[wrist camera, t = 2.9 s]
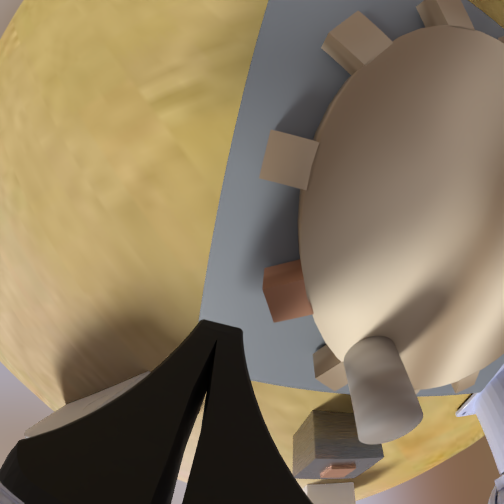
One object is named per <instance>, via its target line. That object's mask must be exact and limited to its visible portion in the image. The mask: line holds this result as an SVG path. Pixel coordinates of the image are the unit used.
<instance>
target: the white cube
mask: <svg viewBox="0 0 504 504" xmlns="http://www.w3.org/2000/svg"><path fill="white" fill-rule="evenodd" d="M302 490H303V491H304V492H305V494H306V495H307V496H308V498H309V499H310V500H311V502H312V503H313V504H355V492H354V482H346V483H333V484H307V485H306V486H305V487H304V488H303V489H302Z"/></svg>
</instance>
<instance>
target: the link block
mask: <svg viewBox="0 0 504 504" xmlns="http://www.w3.org/2000/svg"><path fill="white" fill-rule="evenodd" d="M383 457H384V455H383V450H382V445H381V444H365V443H362V442H360V441H359V438H358V433H357V427H356V421H355V416H354V413H340V412H327V411H316V410H312V412H311V413H310V414H309V416H308V417H307V419H306V420H305V421H304V423H303V424H302V425H301V427H300V428H299V429H298V430H297V432H296V433H295V434H294V436H293V476H294V478H299V479H345V478H355V477H357V476H358V475H360V474H361V473H363V472H364V471H366V470H367V469H369V468H370V467H371V466H373V465H374V464H375V463H377V462H378V461H379V460H381V459H382V458H383Z"/></svg>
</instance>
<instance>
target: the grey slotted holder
mask: <svg viewBox="0 0 504 504" xmlns="http://www.w3.org/2000/svg"><path fill="white" fill-rule="evenodd" d="M149 373H151V372H149V371H147V372H145V373H142V374H140V375H138V376H135V377H133V378H131V379H129V380H126V381H124V382H122V383H119V384H117V385H114V386H112V387H110V388H107V389H105V390H102V391H100V392H97V393H95V394H92V395H90V396H87V397H85V398H82V399H79V400H77V401H74V402H71V403H69V404H66V405H64V406H63V407H61V408H60V409H58V410H57V411H55V412H54V413H52V414H51V415H49V416H48V417H46V418H44V419H43V420H41V421H40V422H38V423H37V424H35V425H34V426H32V427H31V428H29V429H28V430H26V431H25V433H24V435H25V438H29V437H32V436H36V435H39V434H42V433H45V432H48V431H51V430H54V429H57V428H59V427H62V426H64V425H66V424H68V423H71V422H73V421H75V420H77V419H79V418H81V417H83V416H86V415H88V414H90V413H92V412H93V411H95V410H97V409H99V408H101V407H102V406H104V405H106V404H107V403H109V402H111V401H112V400H114V399H115V398H117V397H119V396H120V395H122V394H123V393H124V392H126V391H127V390H129V389H130V388H132V387H133V386H134V385H136V384H137V383H138V382H140V381H141V380H142V379H143V378H145V377H146V376H147V375H148V374H149ZM198 414H199V413H198Z"/></svg>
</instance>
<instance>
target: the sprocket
mask: <svg viewBox="0 0 504 504" xmlns="http://www.w3.org/2000/svg"><path fill="white" fill-rule="evenodd" d="M416 9H417V11H418V13H419V15H420V17H421V19H422V21H423V23H424V25H425V28H420V29H418V30H415V31H413V32H410V33H408V34H405V35H403V36H400V37H398V38H397V39H395V40H394V41H391V40H390V39H389V38H388V37H387V36H386V35H385V34H384V33H383V32H382V31H381V30H380V29H379V28H378V27H377V26H376V25H375V24H373V23H372V22H371V21H370V20H369V19H368V18H367V17H366V16H364V15H363V14H362V13H361V12H360V11H357V12H355V13H354V14H353V15H351V16H350V17H349V18H347V19H346V20H345V21H343V22H342V23H341V24H339V25H338V26H337V27H335V28H334V29H333V30H332V31H330V32H329V33H328V35H327V37H326V39H325V41H324V43H323V45H322V47H321V48H322V49H323V50H324V51H325V52H326V53H327V54H329V55H330V56H331V57H332V58H333V59H334V60H335V61H336V62H337V63H339V64H340V65H341V66H342V67H343V68H344V69H345V70H346V71H347V72H348V73H349V74H350V75H351V76H350V77H349V78H348V79H347V80H346V81H345V82H344V84H343V85H342V87H341V88H340V90H339V91H338V92H337V94H336V95H335V97H334V98H333V100H332V101H331V103H330V104H329V106H328V108H327V110H326V112H325V114H324V116H323V118H322V120H321V122H320V124H319V126H318V128H317V130H316V132H315V135H314V138H313V140H310V139H306V138H302V137H299V136H295V135H291V134H287V133H283V132H279V131H275V130H270V134H269V139H268V143H267V147H266V151H265V155H264V159H263V163H262V168H261V172H260V176H259V178H260V179H264V180H268V181H272V182H276V183H280V184H284V185H288V186H292V187H295V188H299V189H300V195H299V209H298V222H297V223H298V243H299V254H300V259H299V260H295V261H291V262H287V263H283V264H279V265H275V266H271V267H266V268H264V277H263V287H262V290H263V293H264V296H265V299H266V302H267V304H268V307H269V310H270V313H271V316H272V319H273V322H274V323H275V322H280V321H285V320H290V319H294V318H299V317H303V316H308V315H313V318H314V321H315V323H316V325H317V327H318V329H319V331H320V333H321V335H322V337H323V339H324V341H325V343H326V344H327V345H325V346H324V347H322V348H321V349H319V350H318V351H316V352H315V353H313V363H314V372H315V379H317V380H318V381H320V382H321V383H323V384H324V385H326V386H327V387H329V388H330V389H332V390H333V391H337V390H338V389H340V388H342V387H343V386H345V385H347V384H348V386H349V391H350V395H351V400H352V405H353V411H354V416H355V421H356V427H357V433H358V438H359V441H360V442H362V443H365V444H381V443H386V442H389V441H392V440H395V439H398V438H400V437H402V436H404V435H406V434H407V433H409V432H410V431H412V430H413V429H414V428H415V427H416V426H417V425H418V424H419V423H420V422H421V420H422V418H423V412H422V409H421V407H420V404H419V401H418V399H417V396H416V394H417V393H418V392H419V391H420V390H422V389H430V388H436V387H441V386H444V385H447V384H451V385H452V387H453V389H454V391H455V393H458V392H460V391H462V390H465V389H467V388H469V387H471V386H473V385H474V384H475V382H476V379H477V377H478V374H479V371H480V370H481V369H483V368H485V367H486V366H488V365H489V364H491V363H492V362H494V361H495V360H497V359H498V358H499V357H500V356H502V355H503V354H504V36H503V37H499V38H498V40H497V39H495V38H493V37H491V36H489V35H487V34H485V33H483V32H481V31H477V30H475V29H474V27H473V24H472V22H471V20H470V18H469V16H468V14H467V12H466V10H465V8H464V6H463V4H462V2H461V0H424V1H423V2H421V3H420V4H419V5H418V6H416Z"/></svg>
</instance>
